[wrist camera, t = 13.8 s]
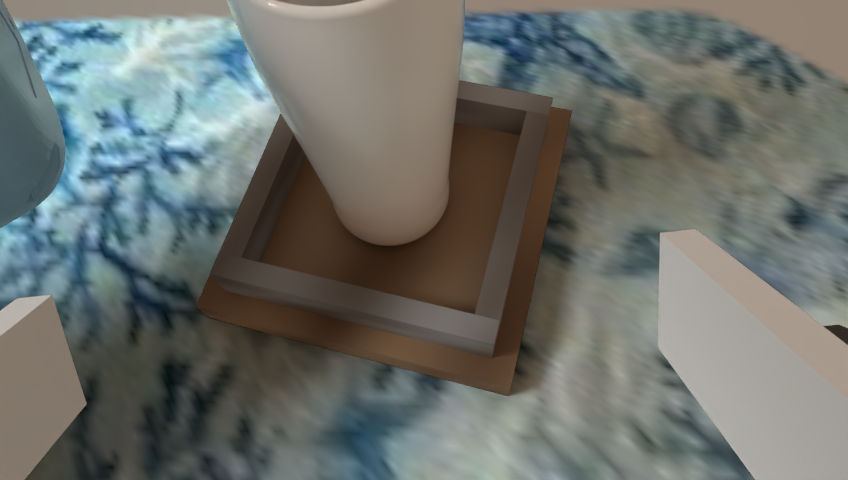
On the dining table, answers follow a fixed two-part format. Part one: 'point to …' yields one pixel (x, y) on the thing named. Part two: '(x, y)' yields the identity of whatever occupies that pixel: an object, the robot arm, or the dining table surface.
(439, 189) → the white cup
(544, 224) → the collar board
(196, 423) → the dining table surface
